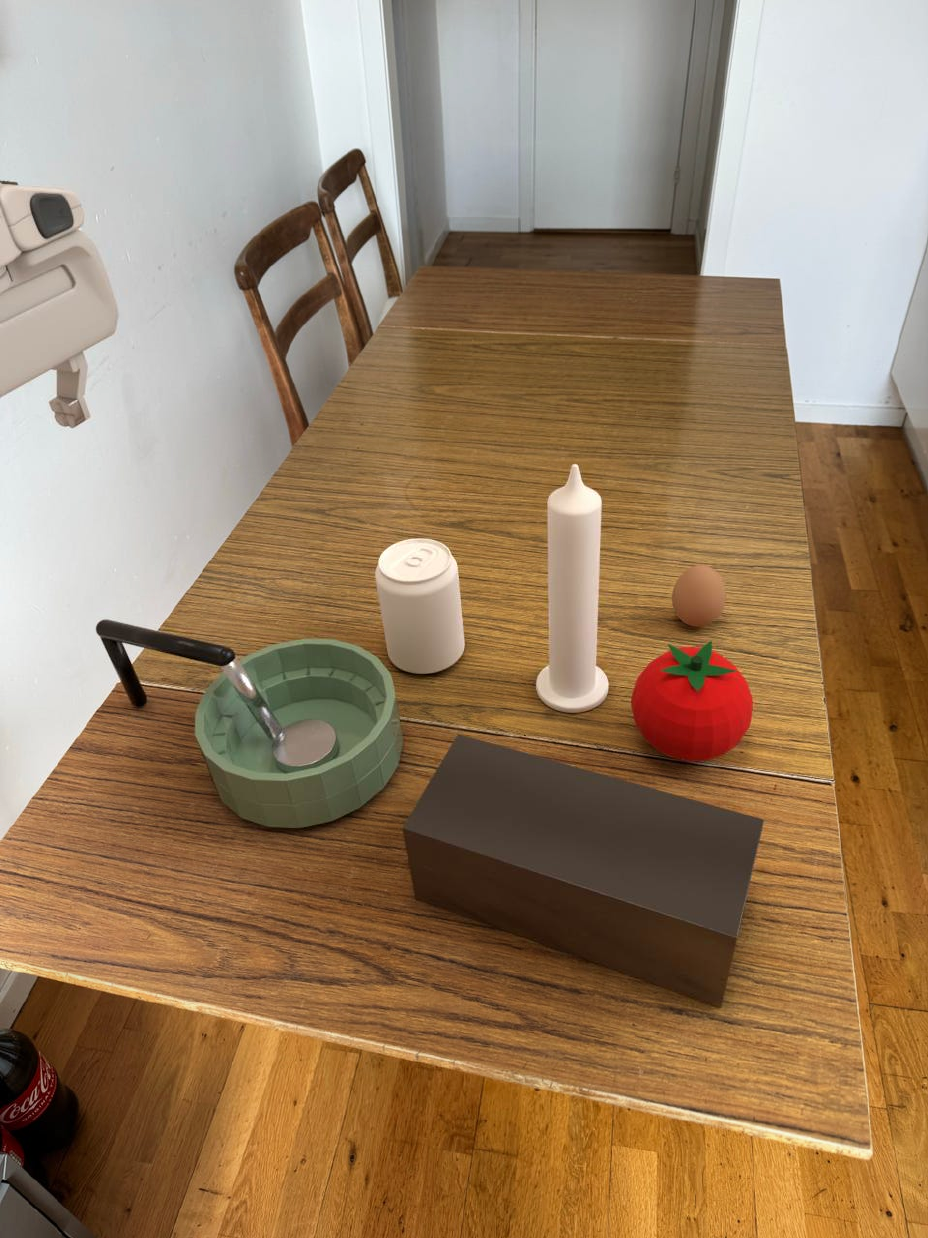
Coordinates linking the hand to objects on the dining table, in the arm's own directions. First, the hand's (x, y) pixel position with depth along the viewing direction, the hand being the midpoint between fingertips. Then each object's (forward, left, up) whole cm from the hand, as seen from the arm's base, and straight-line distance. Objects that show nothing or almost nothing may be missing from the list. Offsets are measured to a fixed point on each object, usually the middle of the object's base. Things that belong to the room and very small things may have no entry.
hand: (24, 455), depth 58 cm
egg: (+40, -38, -35) cm, 65 cm away
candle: (+26, -29, -35) cm, 52 cm away
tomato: (+23, -41, -35) cm, 59 cm away
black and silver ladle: (+9, 0, -35) cm, 36 cm away
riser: (+4, -37, -35) cm, 51 cm away
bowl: (+9, -9, -35) cm, 37 cm away
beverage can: (+26, -13, -35) cm, 46 cm away
